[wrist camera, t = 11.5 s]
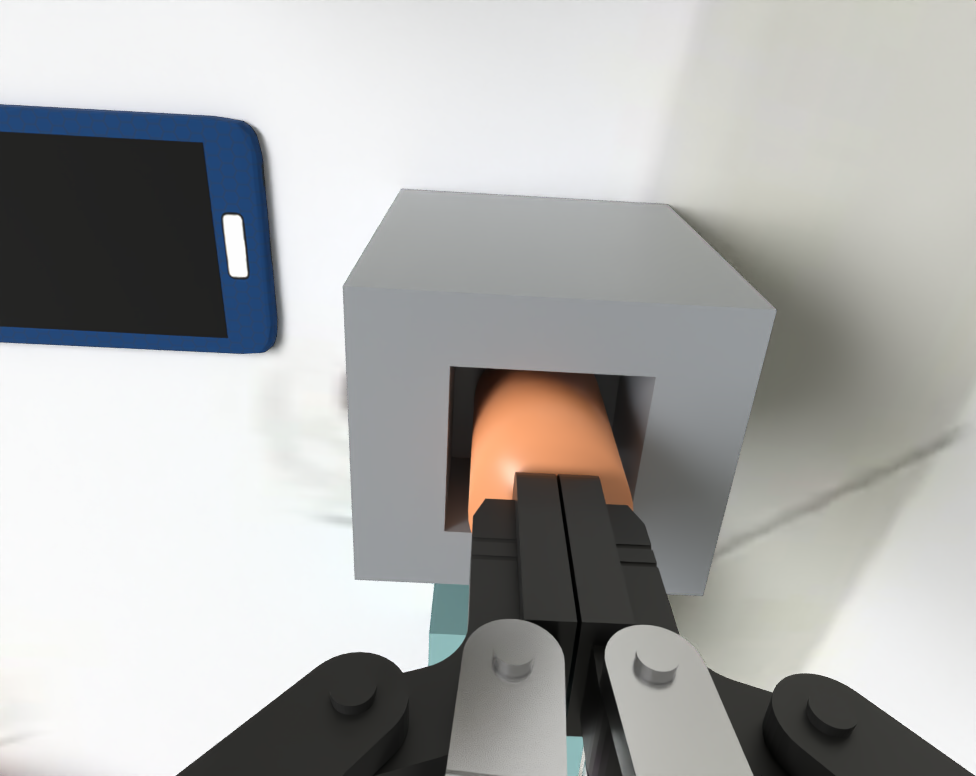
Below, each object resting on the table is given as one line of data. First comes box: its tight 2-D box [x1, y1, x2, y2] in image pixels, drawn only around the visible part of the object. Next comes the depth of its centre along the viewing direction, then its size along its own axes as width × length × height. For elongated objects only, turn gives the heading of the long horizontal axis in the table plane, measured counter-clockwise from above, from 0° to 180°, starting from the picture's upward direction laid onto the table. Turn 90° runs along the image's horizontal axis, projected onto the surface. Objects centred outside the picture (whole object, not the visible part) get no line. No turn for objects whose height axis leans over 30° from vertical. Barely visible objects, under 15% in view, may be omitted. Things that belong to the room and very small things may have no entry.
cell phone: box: [0, 104, 277, 354], centre depth 21 cm, size 7×14×1 cm, turn 87°
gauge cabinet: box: [343, 189, 777, 596], centre depth 18 cm, size 8×7×9 cm
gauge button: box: [468, 368, 633, 533], centre depth 15 cm, size 3×3×4 cm
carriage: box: [428, 583, 584, 776], centre depth 24 cm, size 5×6×7 cm
